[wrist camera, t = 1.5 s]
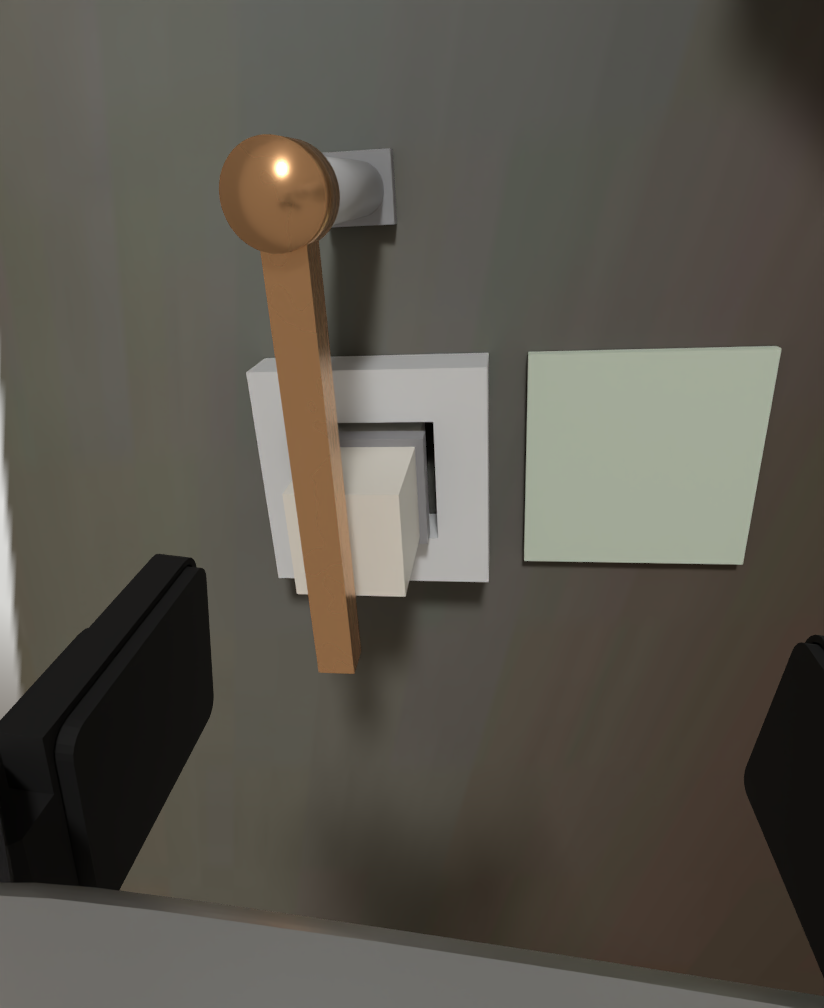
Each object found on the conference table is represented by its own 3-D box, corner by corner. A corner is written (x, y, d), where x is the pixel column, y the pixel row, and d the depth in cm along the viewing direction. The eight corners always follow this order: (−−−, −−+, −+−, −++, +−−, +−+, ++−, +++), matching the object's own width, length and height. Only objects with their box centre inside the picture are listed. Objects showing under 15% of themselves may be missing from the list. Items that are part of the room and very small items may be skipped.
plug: (431, 410, 37) (407, 485, 28) (435, 507, 39) (414, 604, 30) (327, 412, 38) (271, 485, 29) (337, 506, 40) (289, 601, 31)
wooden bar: (234, 141, 21) (210, 138, 20) (334, 134, 21) (318, 130, 19) (308, 649, 30) (295, 679, 28) (380, 651, 29) (372, 682, 27)
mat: (776, 346, 33) (781, 348, 33) (739, 559, 38) (742, 564, 38) (528, 351, 35) (528, 354, 34) (523, 555, 40) (524, 560, 39)
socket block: (487, 142, 31) (478, 124, 20) (489, 555, 40) (483, 692, 30) (236, 159, 33) (104, 150, 22) (293, 552, 42) (220, 681, 31)
